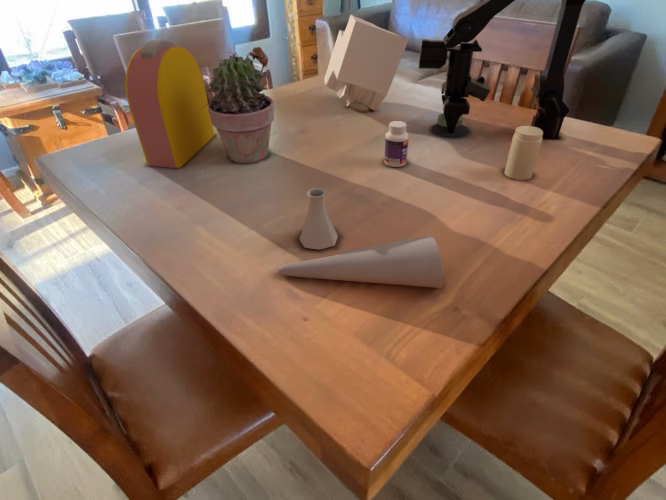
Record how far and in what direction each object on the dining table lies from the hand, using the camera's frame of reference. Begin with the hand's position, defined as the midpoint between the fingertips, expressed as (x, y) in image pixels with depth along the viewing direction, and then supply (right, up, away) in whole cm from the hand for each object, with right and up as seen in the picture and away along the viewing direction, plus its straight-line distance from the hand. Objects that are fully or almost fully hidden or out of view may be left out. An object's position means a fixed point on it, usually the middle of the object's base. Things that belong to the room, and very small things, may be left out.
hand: (450, 128), depth 118 cm
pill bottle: (-17, -13, -14) cm, 26 cm away
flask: (-35, -32, -39) cm, 61 cm away
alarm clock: (-72, -7, -5) cm, 73 cm away
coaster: (0, -1, 0) cm, 1 cm away
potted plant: (-55, -10, -9) cm, 57 cm away
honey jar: (+10, -16, -20) cm, 28 cm away
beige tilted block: (-23, +13, +19) cm, 33 cm away
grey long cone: (-29, -40, -49) cm, 69 cm away
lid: (0, +2, -2) cm, 3 cm away
